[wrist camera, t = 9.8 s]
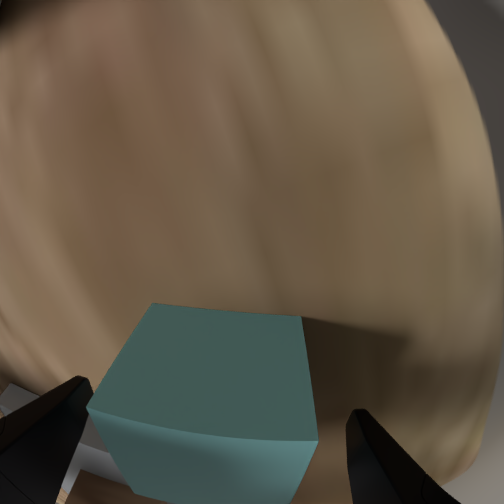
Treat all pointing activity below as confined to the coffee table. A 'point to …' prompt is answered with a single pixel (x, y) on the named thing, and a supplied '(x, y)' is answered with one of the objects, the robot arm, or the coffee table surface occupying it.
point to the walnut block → (104, 492)
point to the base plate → (87, 452)
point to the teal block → (210, 407)
